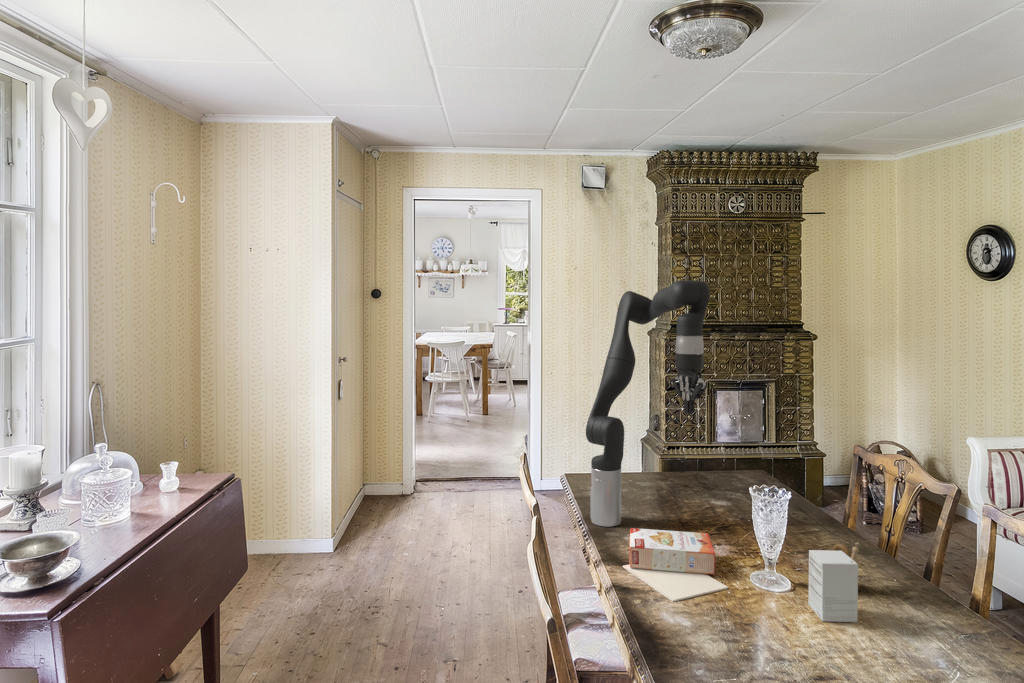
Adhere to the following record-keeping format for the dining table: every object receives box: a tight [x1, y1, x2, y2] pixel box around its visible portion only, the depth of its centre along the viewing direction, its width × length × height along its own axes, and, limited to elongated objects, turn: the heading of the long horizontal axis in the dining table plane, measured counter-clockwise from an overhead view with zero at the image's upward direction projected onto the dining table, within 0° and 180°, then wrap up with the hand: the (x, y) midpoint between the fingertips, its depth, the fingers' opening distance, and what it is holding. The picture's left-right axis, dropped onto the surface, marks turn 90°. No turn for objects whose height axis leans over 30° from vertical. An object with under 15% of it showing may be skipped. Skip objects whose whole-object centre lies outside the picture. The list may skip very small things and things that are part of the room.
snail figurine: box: [832, 542, 860, 563], centre depth 138 cm, size 5×6×12 cm
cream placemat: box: [622, 563, 729, 603], centre depth 144 cm, size 20×16×1 cm
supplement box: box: [807, 549, 859, 623], centre depth 126 cm, size 7×7×13 cm
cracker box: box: [628, 527, 716, 575], centre depth 153 cm, size 14×6×21 cm
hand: (689, 413), depth 164 cm, fingers closed
